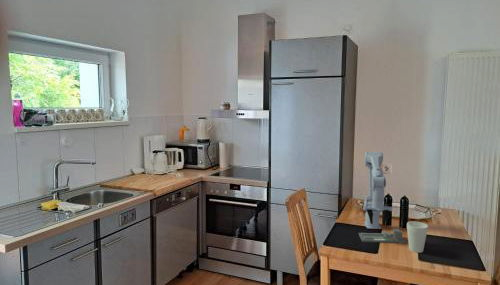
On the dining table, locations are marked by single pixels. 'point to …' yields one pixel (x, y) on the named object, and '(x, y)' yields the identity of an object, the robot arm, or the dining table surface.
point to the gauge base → (377, 237)
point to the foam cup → (416, 235)
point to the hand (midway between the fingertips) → (377, 223)
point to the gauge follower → (385, 234)
